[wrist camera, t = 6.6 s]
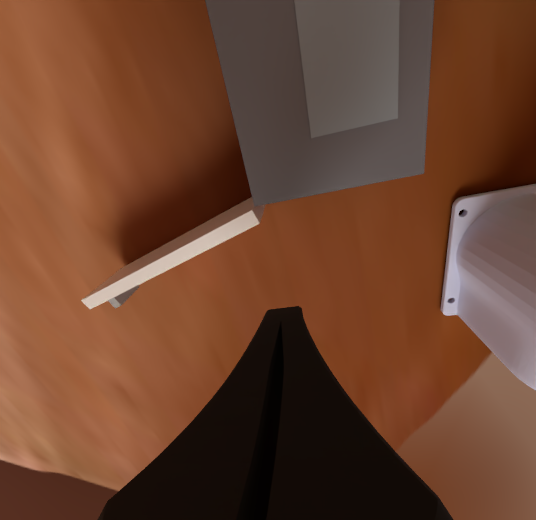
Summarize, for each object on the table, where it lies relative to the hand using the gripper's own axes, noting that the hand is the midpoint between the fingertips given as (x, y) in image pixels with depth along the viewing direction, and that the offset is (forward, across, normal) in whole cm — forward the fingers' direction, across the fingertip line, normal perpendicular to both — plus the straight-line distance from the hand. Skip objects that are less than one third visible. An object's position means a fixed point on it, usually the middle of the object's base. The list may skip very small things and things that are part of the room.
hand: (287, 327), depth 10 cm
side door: (+9, +7, -1) cm, 12 cm away
